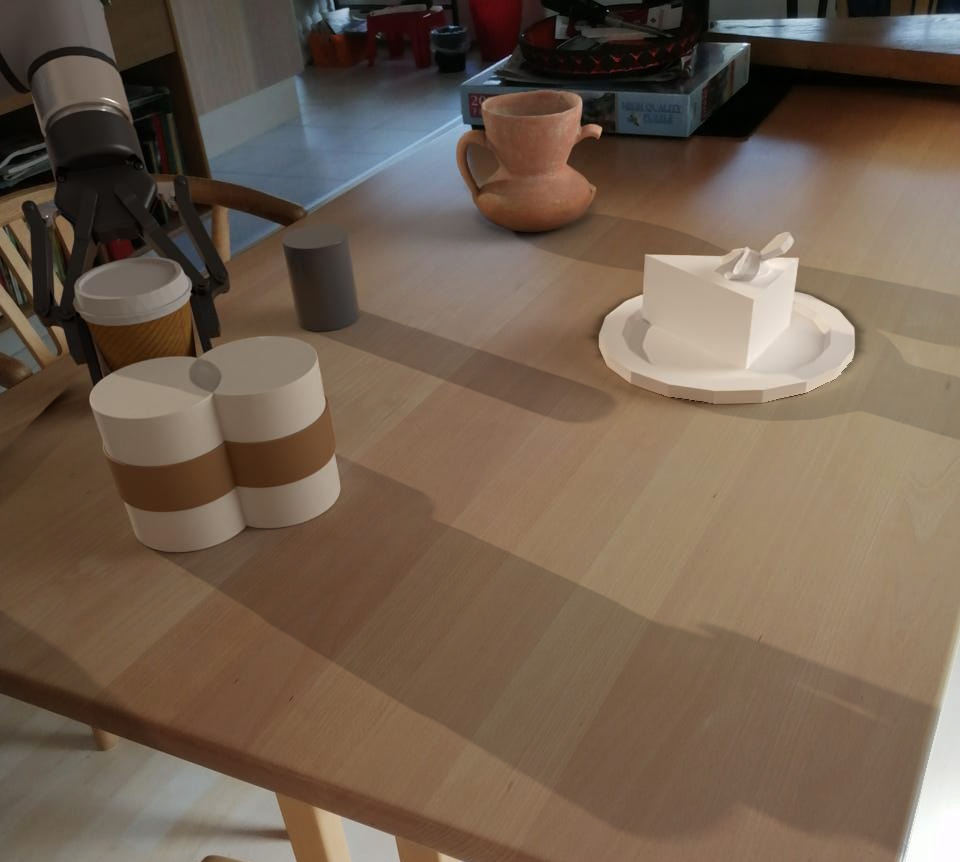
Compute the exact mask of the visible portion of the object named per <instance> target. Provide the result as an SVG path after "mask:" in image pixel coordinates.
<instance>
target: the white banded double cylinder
mask: <svg viewBox="0 0 960 862" xmlns="http://www.w3.org/2000/svg"><path fill="white" fill-rule="evenodd" d="M212 348H213V349H211V350H209V351H207V352H206V353H203V354H201V355H200V356H199V357H197V358H194V357H183V356H175V357H163V358H156V359H150V360H146V361H141V362H138V363H134V364H132V365H129V366H126V367H124V368H121V369H119V370H117V371H115V372H113V373H111V374H109V375H108V376H106V377H105V378H104V377H103V379H102V380H101V381H100V382H99V383H97V384H96V386H95V387H93V388H92V390H91V392H90V394H89V405H90V407H91V410H92V413H93V416H94V419H95V422H96V424H97V427H98V430H99V434H100V436H101V440H102V449H103V454H104V456H105V460H106V461H107V465H108V467H109V471H110V473H111V476H112V479H113V482H114V485H115V488H116V491H117V495H118V496H119V498H120V499H121V500H122V501H123V503H124V506H125V509H126V512H127V514H128V515H127V516H128V517H129V521H130V524H131V525H132V526H131V527H132V528H133V533H134V535H135V537H136V539H137V540H138V541H139V542H140V543H141V544H143V545H144V546H145V547H148V548H150V549H153V550H156V551H159V552H166V553H189V552H196V551H201V550H204V549H208V548H212V547H215V546H217V545H219V544H222V543H224V542H226V541H229V540H230V539H232V538H233V537H235V536H236V535H238V534H240V533H241V532H242V531H243V530H244V529H245V528H246V527H251V528H256V529H280V528H287V527H291V526H296V525H300V524H302V523H305V522H308V521H311V520H313V519H315V518H317V517H319V516H320V515H322V514H323V513H325V512H326V511H328V510H329V509H330V508H331V507H332V506H333V505H334V504H335V503H336V502H337V501H338V498H339V496H340V494H341V490H342V489H341V481H340V480H341V479H340V475H339V470H338V464H337V459H336V446H337V445H336V439H335V433H334V427H333V422H332V416H331V411H330V404H329V400H328V397H327V396H326V394H325V392H324V391H325V390H324V385H323V380H322V375H321V369H320V364H319V363H320V362H319V358H318V354H317V351H316V349H315V348H314V347H313V346H312V345H311V344H309V343H308V342H306V341H303V340H301V339H299V338H293V337H290V336H289V337H288V336H280V335H279V336H278V335H263V336H262V335H261V336H252V337H246V338H242V339H235V340H233V341H229V342H226V343H223V344H220V345H218V346H216V347H212Z"/></svg>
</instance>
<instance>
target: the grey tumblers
mask: <svg viewBox="0 0 960 862" xmlns="http://www.w3.org/2000/svg"><path fill="white" fill-rule="evenodd" d="M281 243H282V249H283V253H284V259H285V265H286V270H287V275H288V280H289V285H290V286H289V287H290V291H291V297H292V301H293V308H294V312H295V318H296V322H297V324H298V326H299V327H301V328H302V329H304V330H307V331H312V332H332V331H337V330H340V329H341V330H342V329H344V328H347V327H350V326H352V325H353V324H355V323H356V322H357V321H358V320H359V319H360V317H361V311H360V303H359V297H358V290H357V284H356V277H355V271H354V262H353V255H352V250H351V249H352V248H351V242H350V236H349V230H347V228H345V227H343V226H340V225H336V224H311V225H306V226H302V227H299V228H296V229H293V230H291V231H289V232H287V233H286V234H284V236H283V237H282V238H281ZM91 334H92V333H91ZM92 338H93V336H92ZM93 341H94V345H95V349H96V352H97V356H98V360H99V363H100V367H101V371H102V374H103V378H105V377H106V376H108V375H109V374H111V373H110V372H109V370H108V367H107V365H106V363H105V361H104V359H103V357H102V354H101V353H100V351H99V348H98V346H97V344H96V342H95V340H94V338H93Z"/></svg>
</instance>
